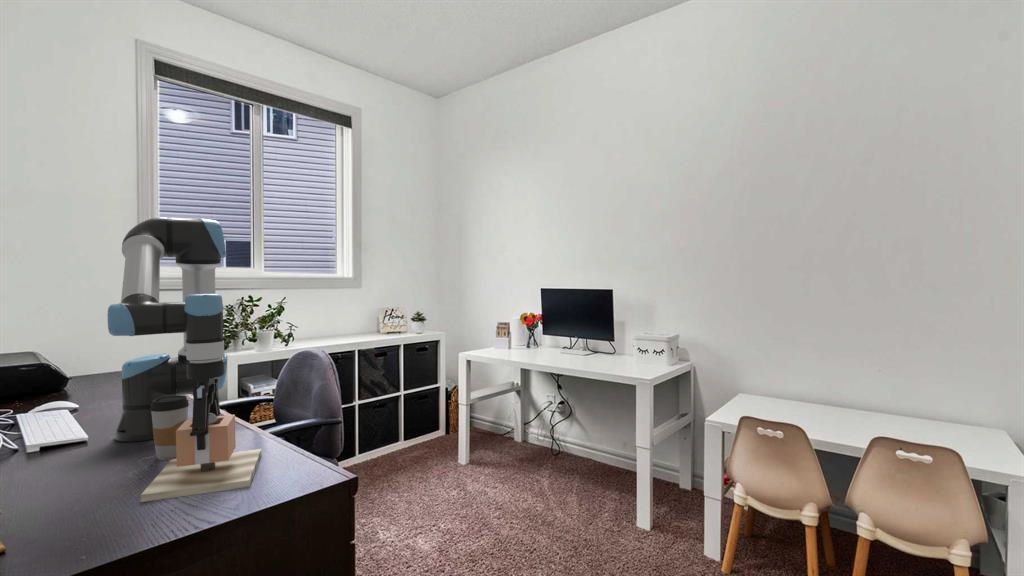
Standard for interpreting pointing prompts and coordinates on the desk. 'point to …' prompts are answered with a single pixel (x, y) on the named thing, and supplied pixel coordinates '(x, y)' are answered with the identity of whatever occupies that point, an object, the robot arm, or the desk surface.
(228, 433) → the open top tan bin
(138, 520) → the desk surface
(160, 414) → the coffee cup
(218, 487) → the wooden peg stand
